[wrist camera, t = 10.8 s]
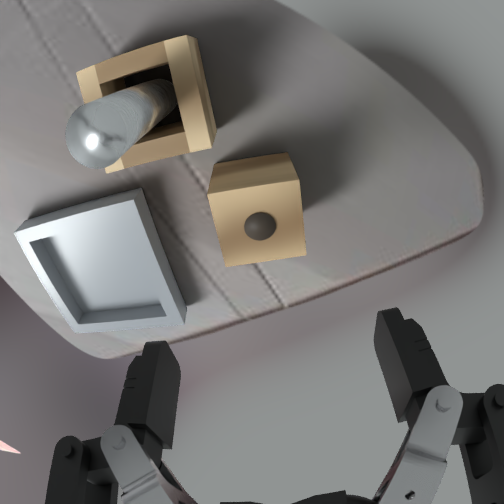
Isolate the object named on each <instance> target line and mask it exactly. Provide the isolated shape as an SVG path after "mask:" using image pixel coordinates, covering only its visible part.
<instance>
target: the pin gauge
mask: <svg viewBox="0 0 504 504" xmlns="http://www.w3.org/2000/svg"><path fill="white" fill-rule="evenodd" d="M176 104H177V97H176V93H175V89H174V85H173V84H172V83H171V82H169V81H167V80H165V79H154V80H151V81H148V82H144V83H141V84H138V85H135V86H132V87H129V88H126V89H123V90H121V91H118V92H115V93H112V94H109V95H107V96H104V97H102V98H99V99H96V100H94V101H91V102H89V103H86V104H84V105H82V106H80V107H79V108H78V109H77V110H75V111H74V113H73V114H72V115H71V117H70V119H69V121H68V123H67V127H66V143H67V146H68V149H69V151H70V153H71V154H72V156H73V157H74V158H75V159H76V160H77V161H78V162H79V163H80V164H82V165H84V166H86V167H89V168H93V169H101V168H106V167H108V166H110V165H112V164H114V163H115V162H116V161H117V160H118V159H119V158H120V157H121V156H122V155H123V154H124V153H125V152H127V151H128V150H129V149H130V148H131V147H132V146H133V145H134V144H135V143H136V142H137V141H138V140H139V139H140V138H142V137H143V136H144V135H145V134H146V133H147V132H148V131H149V130H150V129H152V128H153V127H154V126H155V125H156V124H157V123H158V122H160V121H161V120H162V119H163V118H164V117H165V116H167V115H168V114H169V113H170V112H171V111H172V110H173V109H174V108H175V106H176Z"/></svg>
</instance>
